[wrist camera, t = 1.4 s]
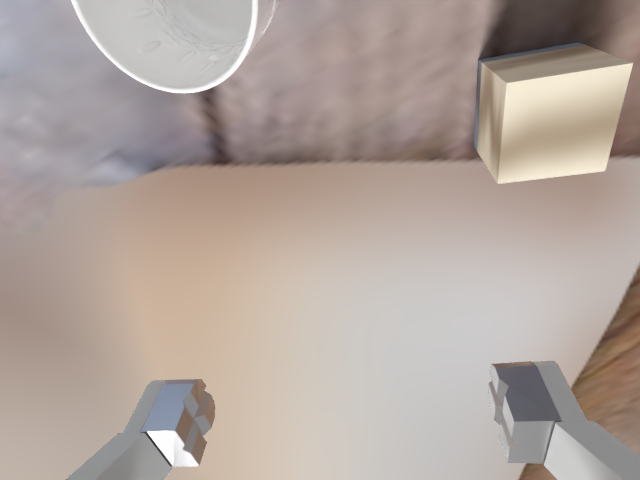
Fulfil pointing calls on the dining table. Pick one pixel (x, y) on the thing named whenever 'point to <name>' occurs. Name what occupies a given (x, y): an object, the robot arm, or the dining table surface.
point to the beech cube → (548, 111)
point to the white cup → (176, 38)
